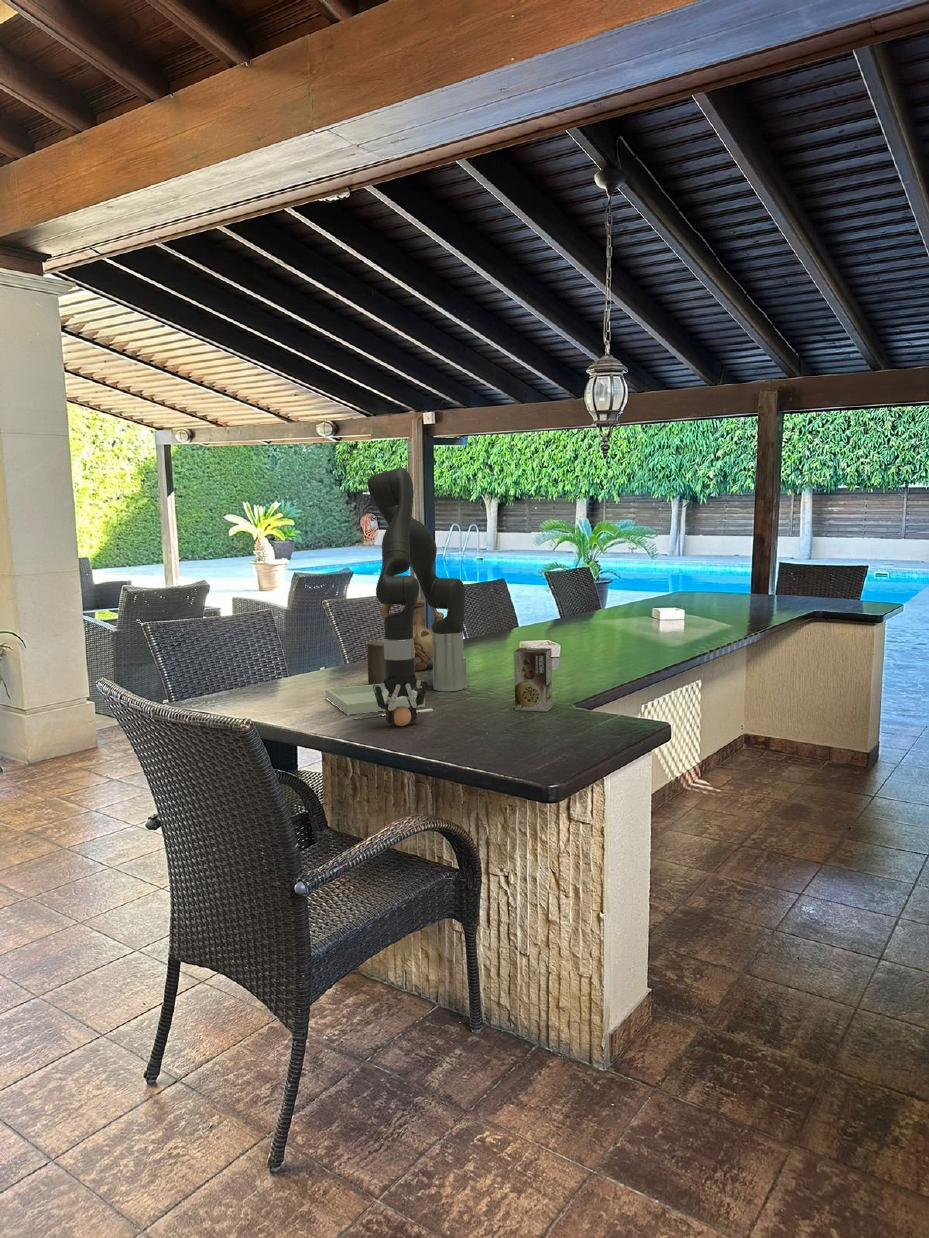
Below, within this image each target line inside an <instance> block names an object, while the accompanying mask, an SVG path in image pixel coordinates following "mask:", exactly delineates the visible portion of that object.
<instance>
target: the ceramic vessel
mask: <svg viewBox="0 0 929 1238" xmlns="http://www.w3.org/2000/svg"><path fill="white" fill-rule="evenodd" d="M425 601H426V600H424V599H421V598H417V602H416V605H415V610H414V615H413V641H414V649H415V672H416V671H417V672H418V671H422V670H425V669H427V667H428V662H429V661H433V646H432V627H431V628H427V627H426V626H425V624H424V620H423V619H424V618H423V614H424V613H423V612H424V606H425ZM382 605H383V606H382V609H381V615H382V619H383V622H384V621H385V617H386V616H388V615H390V610H391V608H392V607H393V605H395V604H392V605H385V604H382ZM401 605H403V606H404V607H405V604H401ZM432 610H433V613H434V614H433V615H434V618H433V619H434V622H436V621H439V620H442V619H443V618H445V615H444V613H443V612H441V611H438V609H436V608H433V609H432ZM434 622H433V623H434Z"/></svg>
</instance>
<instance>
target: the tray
mask: <svg viewBox="0 0 929 1238" xmlns="http://www.w3.org/2000/svg"><path fill="white" fill-rule="evenodd" d="M374 685H379V684H373V685H368V684H365V685H357V686H355V685H354V686H344V687H336V688H325V690H324V691H325V699H326V698H328V699H329V700H330V701H331V702H333V703H334V704H335V705H337V706H338V707H339V708H341V709H342V710H343V711H344V712H346V713H347V714H348V713H355V712H356V713H357V712H374V713H379V712H378V711H383V712H386V710H385V709H382V708H380V707H379V706H378V704H377V700H376V697H375V693H374V689H373V686H374ZM412 692H413V695H414V697H415V700H416V696H417V692H418V691H416V690H414V689H413V690H412ZM382 695H383V699H384V702H385V704H386V701H387V695H388V690H387V689H386V688H384V692H383V693H382ZM398 706H405V707H407V708H409V707H410V705H409V703H408V700H407V698H406V697H405V696H401V697H397V698H396V701H395V702H394V705H393V709H392V710H394V709H395V708H396V707H398ZM424 707H426V697H425V698H424V703H423V704H422V705H418V706H417V708H424ZM417 708H416V709H417Z"/></svg>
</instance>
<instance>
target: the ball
mask: <svg viewBox="0 0 929 1238" xmlns="http://www.w3.org/2000/svg"><path fill="white" fill-rule="evenodd" d="M393 716H394V724H395V725H396V726H398V727H404V726H406V725H407V726H408V724H409V723H411V722H410V720H411V712H410V710H409V709H408V708H407V707H405V706H398V707H396V708H395V709H394V710H393Z"/></svg>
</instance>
